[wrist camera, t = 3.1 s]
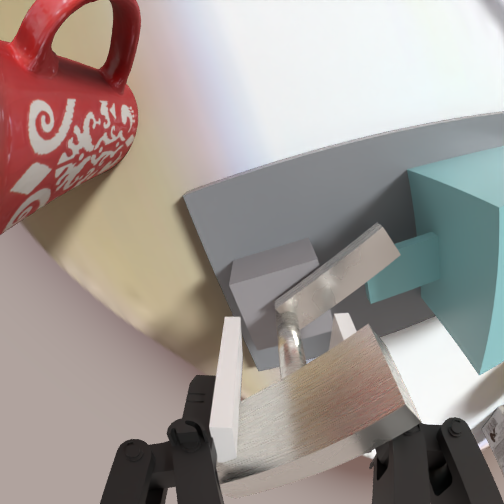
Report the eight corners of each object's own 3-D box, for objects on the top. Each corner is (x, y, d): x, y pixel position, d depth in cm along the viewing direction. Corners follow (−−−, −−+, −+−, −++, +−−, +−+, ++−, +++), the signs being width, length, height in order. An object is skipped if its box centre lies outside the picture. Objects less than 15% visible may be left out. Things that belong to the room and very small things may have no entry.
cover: (336, 188, 18) (398, 242, 10) (519, 142, 16) (602, 165, 7) (363, 318, 22) (404, 409, 13) (521, 252, 19) (585, 300, 11)
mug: (88, 212, 20) (-46, 311, 7) (28, 126, 17) (-115, 159, 5) (224, 95, 17) (155, 29, 4) (147, 4, 14) (31, -92, 2)
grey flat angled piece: (222, 337, 18) (202, 486, 9) (377, 221, 15) (490, 336, 6) (245, 356, 18) (238, 499, 9) (395, 249, 15) (498, 368, 7)
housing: (186, 191, 19) (158, 219, 14) (505, 111, 16) (558, 117, 10) (258, 361, 25) (258, 419, 19) (512, 270, 21) (550, 301, 16)
